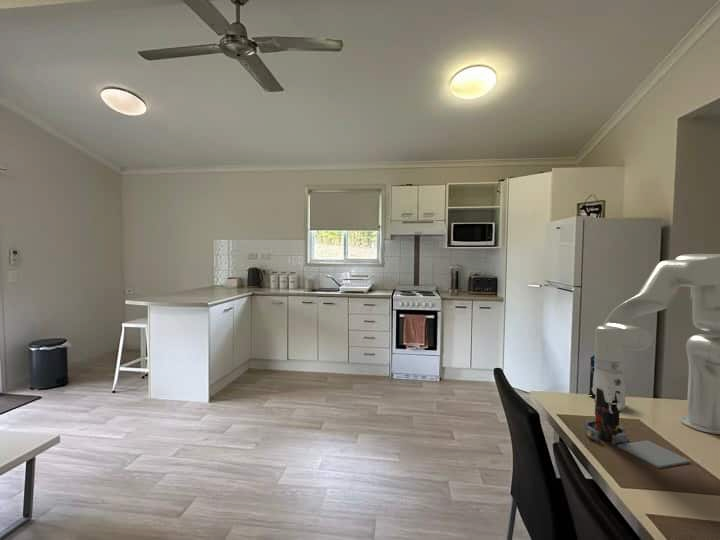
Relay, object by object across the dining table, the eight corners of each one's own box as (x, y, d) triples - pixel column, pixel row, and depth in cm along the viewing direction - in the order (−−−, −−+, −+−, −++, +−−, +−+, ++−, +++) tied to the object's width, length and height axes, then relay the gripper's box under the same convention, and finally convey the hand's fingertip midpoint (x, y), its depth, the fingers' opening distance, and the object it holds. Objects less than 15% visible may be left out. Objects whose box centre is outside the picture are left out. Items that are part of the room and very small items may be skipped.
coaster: (647, 442, 117) (647, 440, 117) (690, 462, 106) (690, 460, 106) (617, 446, 114) (617, 444, 114) (657, 468, 102) (657, 466, 102)
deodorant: (618, 441, 116) (619, 394, 116) (595, 437, 119) (597, 390, 119) (616, 434, 122) (617, 388, 121) (594, 429, 124) (596, 385, 124)
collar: (605, 427, 127) (605, 418, 127) (636, 442, 117) (637, 433, 117) (574, 431, 124) (575, 422, 124) (604, 447, 113) (604, 437, 113)
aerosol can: (590, 392, 161) (592, 345, 160) (613, 397, 155) (615, 349, 155) (587, 397, 154) (589, 349, 154) (610, 402, 149) (613, 353, 148)
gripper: (639, 373, 111) (637, 433, 111) (604, 357, 128) (602, 409, 129) (613, 373, 111) (611, 433, 112) (581, 357, 128) (580, 409, 129)
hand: (606, 420), depth 120 cm, fingers closed on deodorant, 5 cm apart
